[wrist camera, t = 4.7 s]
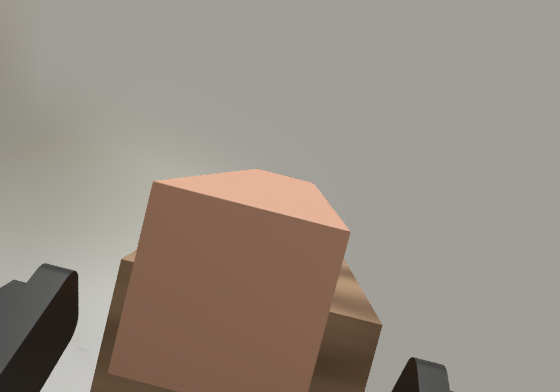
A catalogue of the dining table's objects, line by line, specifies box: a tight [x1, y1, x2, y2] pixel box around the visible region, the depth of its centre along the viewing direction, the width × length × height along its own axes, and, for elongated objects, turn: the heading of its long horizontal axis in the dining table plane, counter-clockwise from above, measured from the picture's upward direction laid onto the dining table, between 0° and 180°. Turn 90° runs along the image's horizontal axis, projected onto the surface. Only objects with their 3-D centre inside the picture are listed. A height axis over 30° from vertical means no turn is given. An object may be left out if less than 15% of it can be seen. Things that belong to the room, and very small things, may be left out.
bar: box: [108, 169, 350, 392], centre depth 24 cm, size 26×4×4 cm, turn 178°
